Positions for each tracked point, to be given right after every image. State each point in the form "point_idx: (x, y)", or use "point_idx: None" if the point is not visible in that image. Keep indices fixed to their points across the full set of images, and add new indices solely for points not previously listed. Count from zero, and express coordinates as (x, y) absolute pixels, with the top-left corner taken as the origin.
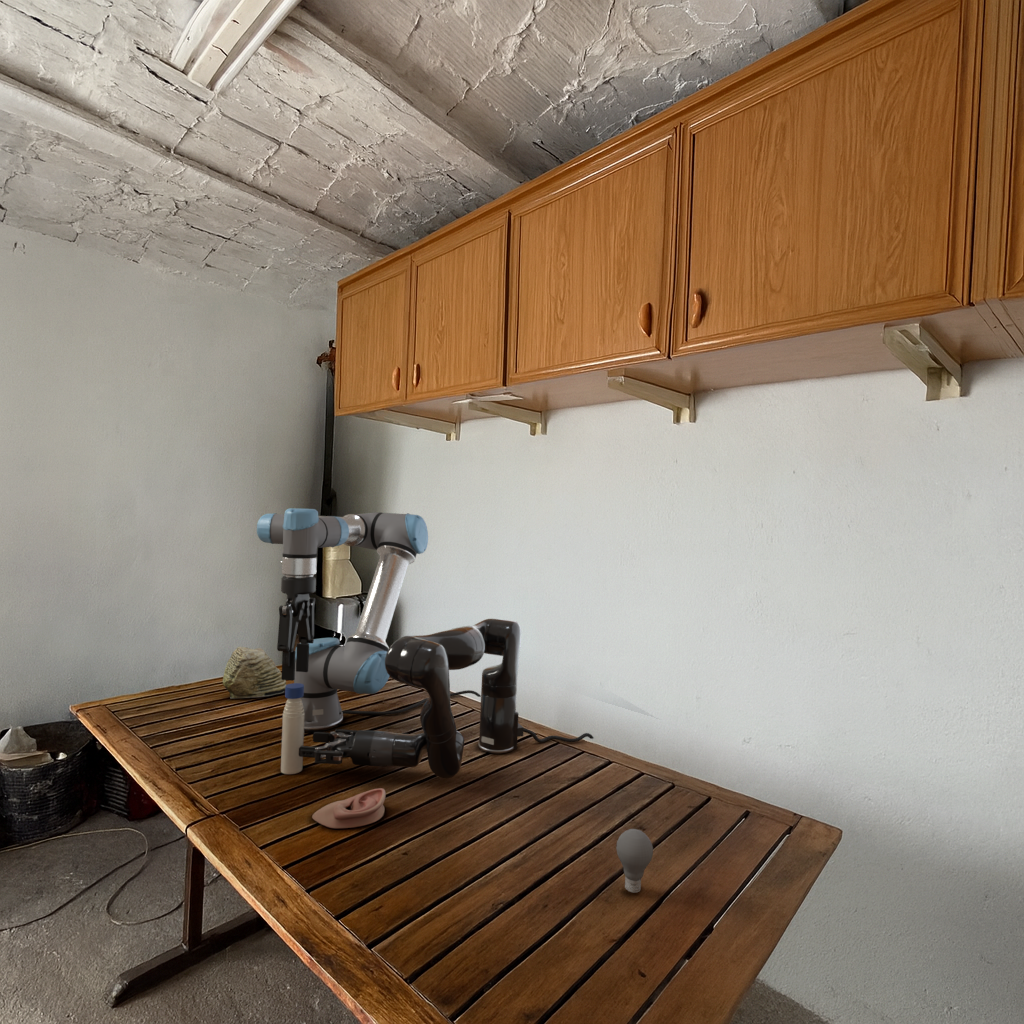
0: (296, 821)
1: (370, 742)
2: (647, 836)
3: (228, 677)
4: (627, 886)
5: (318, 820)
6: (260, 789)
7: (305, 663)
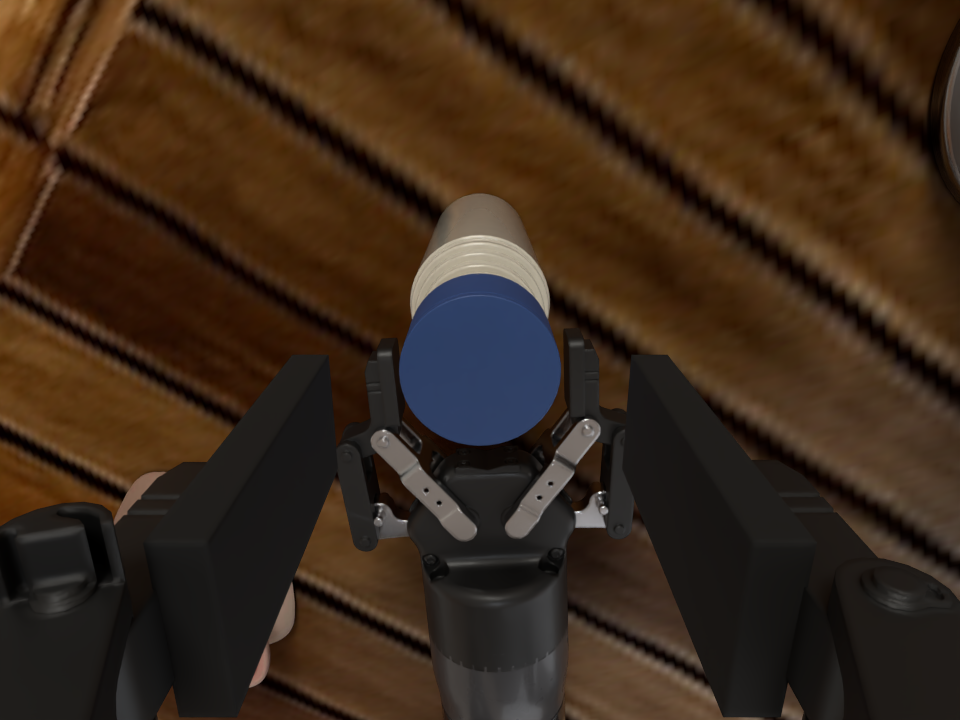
0: (115, 433)
1: (440, 650)
2: None
3: None
4: None
5: (123, 504)
6: (279, 201)
7: (645, 503)
